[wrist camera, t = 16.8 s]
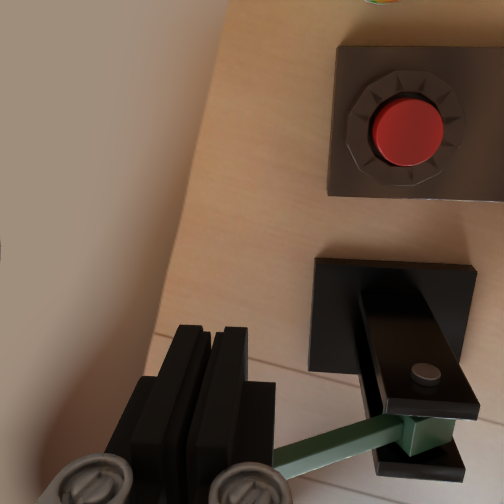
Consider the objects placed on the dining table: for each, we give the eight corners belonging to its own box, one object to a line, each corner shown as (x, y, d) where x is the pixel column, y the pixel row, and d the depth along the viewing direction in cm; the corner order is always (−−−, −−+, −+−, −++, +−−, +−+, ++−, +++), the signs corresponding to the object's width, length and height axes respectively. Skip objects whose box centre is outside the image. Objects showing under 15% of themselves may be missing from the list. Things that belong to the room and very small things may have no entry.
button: (368, 159, 29) (372, 165, 27) (375, 96, 27) (379, 98, 26) (430, 161, 28) (438, 167, 27) (440, 97, 27) (449, 99, 25)
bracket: (307, 362, 38) (310, 498, 26) (314, 257, 34) (320, 358, 23) (450, 372, 37) (521, 518, 25) (472, 264, 34) (565, 374, 22)
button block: (326, 189, 33) (329, 203, 29) (336, 46, 29) (340, 44, 26) (509, 196, 32) (532, 211, 28) (541, 48, 28) (572, 46, 25)
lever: (222, 501, 23) (240, 543, 21) (220, 419, 22) (240, 457, 19) (416, 432, 28) (447, 461, 26) (429, 360, 26) (463, 385, 24)
